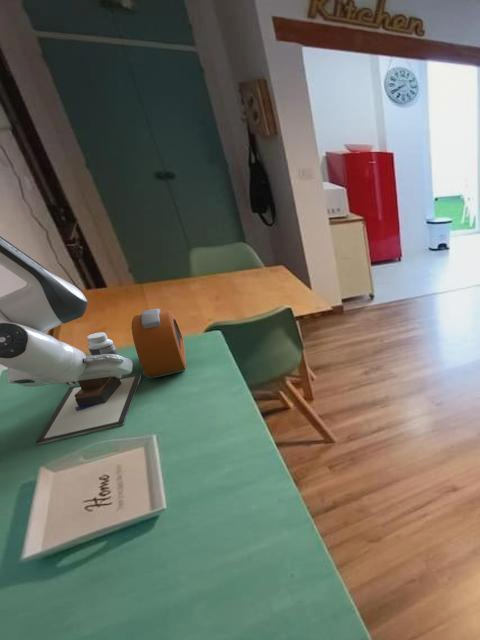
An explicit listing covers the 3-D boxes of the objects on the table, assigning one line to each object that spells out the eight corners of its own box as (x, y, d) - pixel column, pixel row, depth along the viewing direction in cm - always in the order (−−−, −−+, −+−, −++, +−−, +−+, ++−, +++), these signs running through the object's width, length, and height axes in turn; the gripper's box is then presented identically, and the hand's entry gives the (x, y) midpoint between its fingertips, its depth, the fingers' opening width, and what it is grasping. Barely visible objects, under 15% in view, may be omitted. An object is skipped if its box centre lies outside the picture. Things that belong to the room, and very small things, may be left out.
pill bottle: (93, 366, 123) (79, 336, 118) (115, 358, 127) (102, 329, 123) (103, 370, 121) (89, 340, 116) (125, 362, 125) (112, 333, 121)
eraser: (105, 403, 106) (90, 372, 102) (78, 407, 104) (63, 376, 100) (121, 383, 114) (108, 354, 110) (97, 386, 112) (83, 357, 108)
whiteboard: (36, 445, 92) (34, 443, 92) (70, 389, 112) (69, 387, 112) (124, 424, 99) (123, 422, 99) (141, 375, 119) (140, 373, 119)
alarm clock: (188, 375, 120) (169, 322, 113) (148, 384, 115) (126, 329, 108) (185, 344, 137) (169, 296, 129) (150, 351, 132) (131, 302, 125)
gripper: (115, 344, 100) (145, 361, 112) (0, 356, 93) (45, 373, 105) (114, 369, 98) (144, 383, 110) (-3, 383, 91) (43, 397, 103)
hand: (95, 378), depth 108 cm, fingers open, 8 cm apart
